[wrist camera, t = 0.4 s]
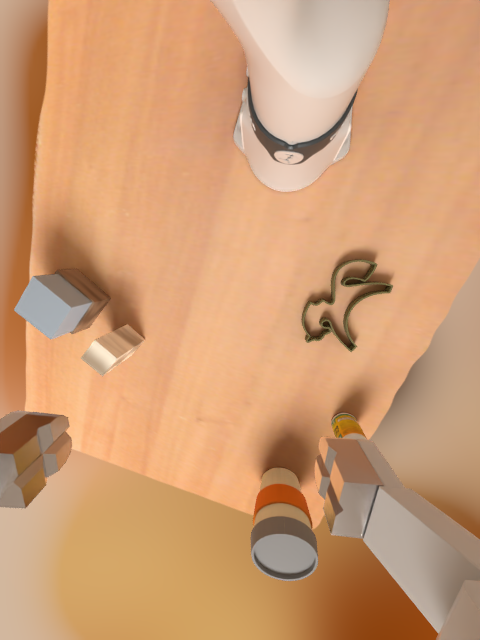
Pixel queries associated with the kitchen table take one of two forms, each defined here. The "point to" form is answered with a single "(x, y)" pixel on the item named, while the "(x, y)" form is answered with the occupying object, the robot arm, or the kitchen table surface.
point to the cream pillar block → (112, 349)
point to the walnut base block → (87, 290)
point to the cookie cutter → (350, 307)
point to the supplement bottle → (346, 427)
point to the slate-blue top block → (52, 305)
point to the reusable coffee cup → (283, 528)
